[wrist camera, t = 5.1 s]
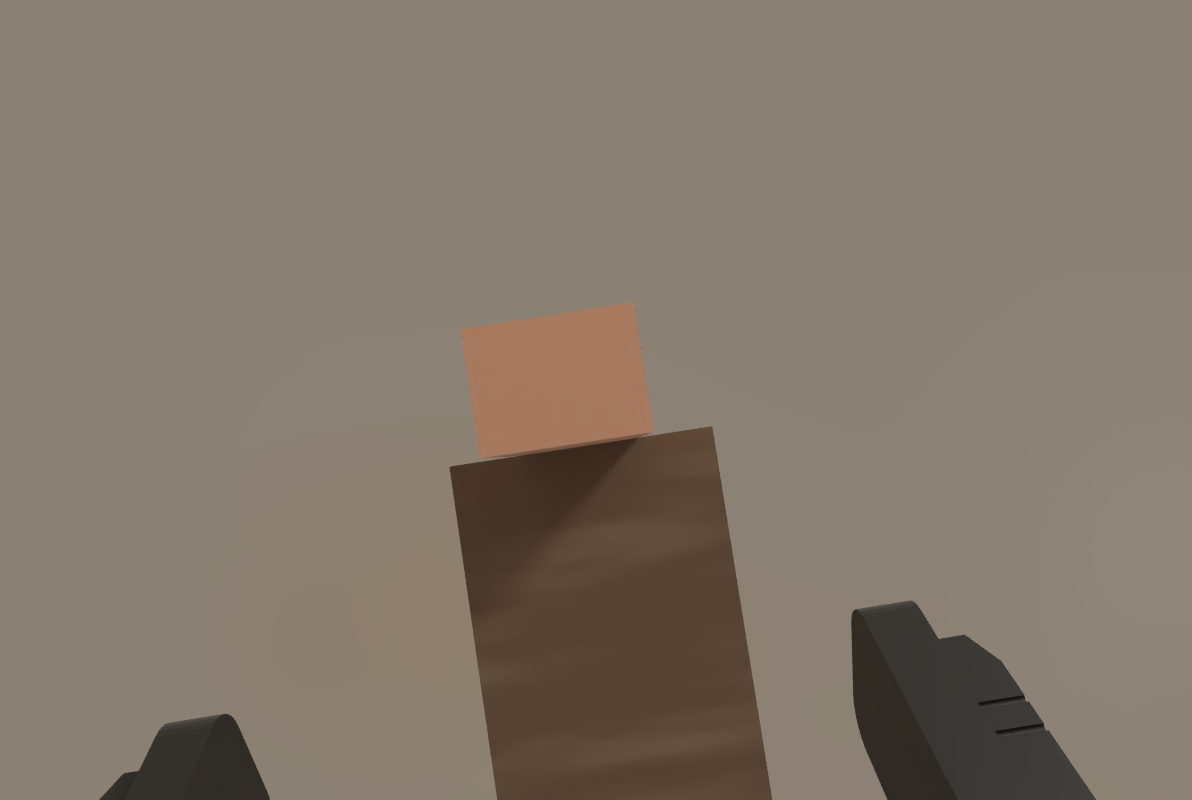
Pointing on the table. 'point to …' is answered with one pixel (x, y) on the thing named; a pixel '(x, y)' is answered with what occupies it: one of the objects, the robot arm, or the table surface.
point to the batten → (557, 381)
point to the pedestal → (610, 623)
